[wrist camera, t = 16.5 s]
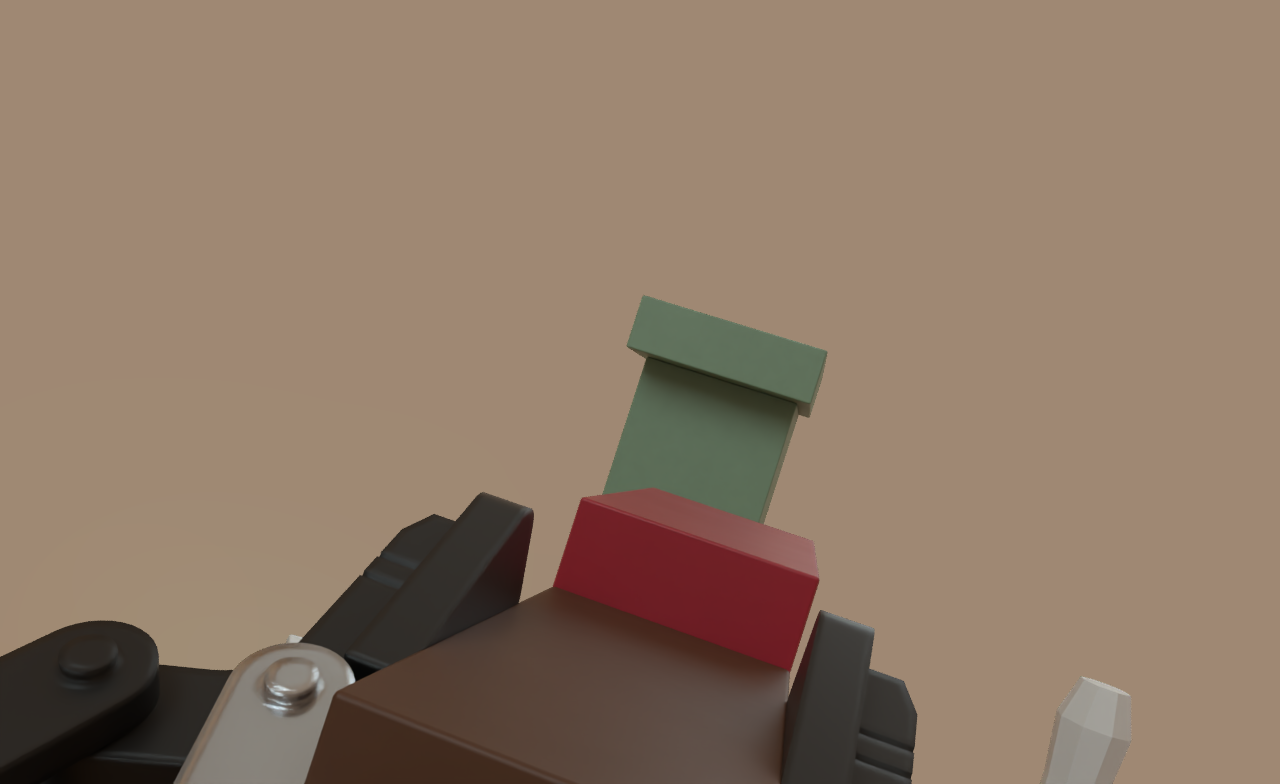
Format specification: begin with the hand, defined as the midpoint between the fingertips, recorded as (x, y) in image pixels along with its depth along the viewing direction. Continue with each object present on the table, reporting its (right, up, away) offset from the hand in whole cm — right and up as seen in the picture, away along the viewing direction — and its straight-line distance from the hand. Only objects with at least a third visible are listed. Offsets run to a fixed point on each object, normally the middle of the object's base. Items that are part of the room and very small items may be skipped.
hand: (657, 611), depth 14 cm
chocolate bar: (0, -2, +3) cm, 3 cm away
